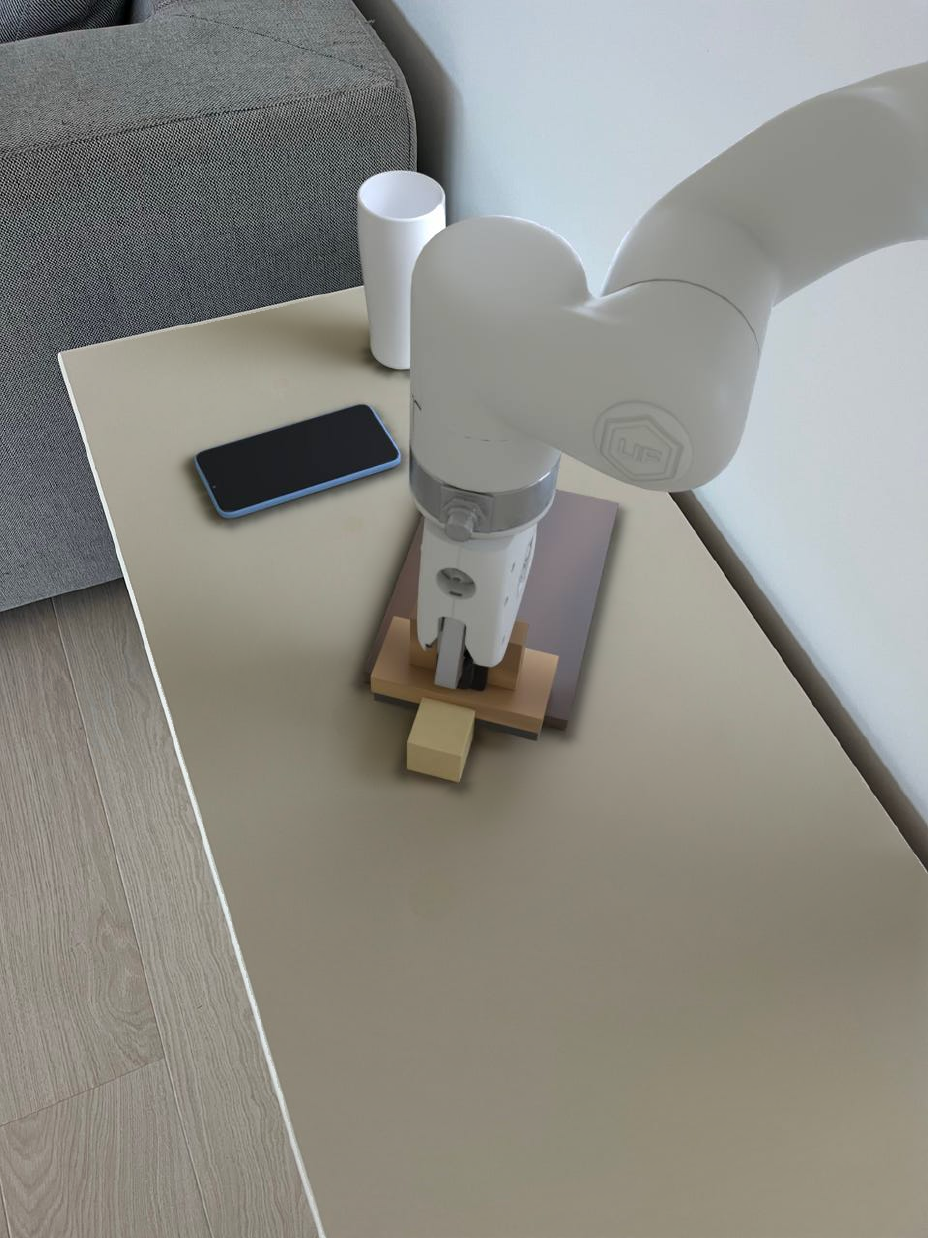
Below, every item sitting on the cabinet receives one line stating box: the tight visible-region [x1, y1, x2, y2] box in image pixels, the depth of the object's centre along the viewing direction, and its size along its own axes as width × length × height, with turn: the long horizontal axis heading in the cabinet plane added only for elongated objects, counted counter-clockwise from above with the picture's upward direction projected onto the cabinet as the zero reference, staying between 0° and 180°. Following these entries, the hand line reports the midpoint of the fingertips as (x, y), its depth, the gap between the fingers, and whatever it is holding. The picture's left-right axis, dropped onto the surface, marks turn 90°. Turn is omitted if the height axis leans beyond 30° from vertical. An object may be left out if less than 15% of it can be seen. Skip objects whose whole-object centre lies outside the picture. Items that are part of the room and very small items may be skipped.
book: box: [363, 488, 620, 731], centre depth 77 cm, size 14×20×1 cm
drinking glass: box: [356, 169, 446, 370], centre depth 87 cm, size 7×7×15 cm
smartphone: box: [194, 403, 402, 519], centre depth 84 cm, size 7×1×15 cm
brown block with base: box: [370, 597, 559, 742], centre depth 68 cm, size 5×11×8 cm, turn 75°
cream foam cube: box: [406, 697, 475, 783], centre depth 69 cm, size 4×4×4 cm
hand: (466, 665), depth 69 cm, fingers closed on brown block with base
